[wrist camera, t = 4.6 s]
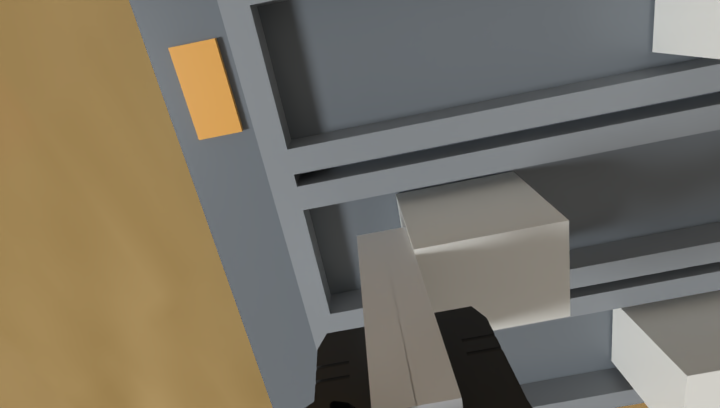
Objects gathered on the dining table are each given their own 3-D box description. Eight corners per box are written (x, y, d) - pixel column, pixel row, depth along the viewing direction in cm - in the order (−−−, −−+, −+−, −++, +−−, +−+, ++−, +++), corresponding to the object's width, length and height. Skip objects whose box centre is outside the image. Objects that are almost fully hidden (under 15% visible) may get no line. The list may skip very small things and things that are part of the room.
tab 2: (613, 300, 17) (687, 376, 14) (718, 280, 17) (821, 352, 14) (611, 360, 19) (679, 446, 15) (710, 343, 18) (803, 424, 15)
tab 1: (395, 194, 15) (413, 249, 12) (512, 171, 15) (568, 220, 12) (408, 269, 17) (428, 342, 13) (517, 249, 16) (570, 316, 13)
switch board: (147, -4, 14) (106, -9, 12) (930, -170, 13) (1065, -213, 11) (289, 416, 21) (282, 469, 19) (814, 321, 20) (881, 364, 18)
